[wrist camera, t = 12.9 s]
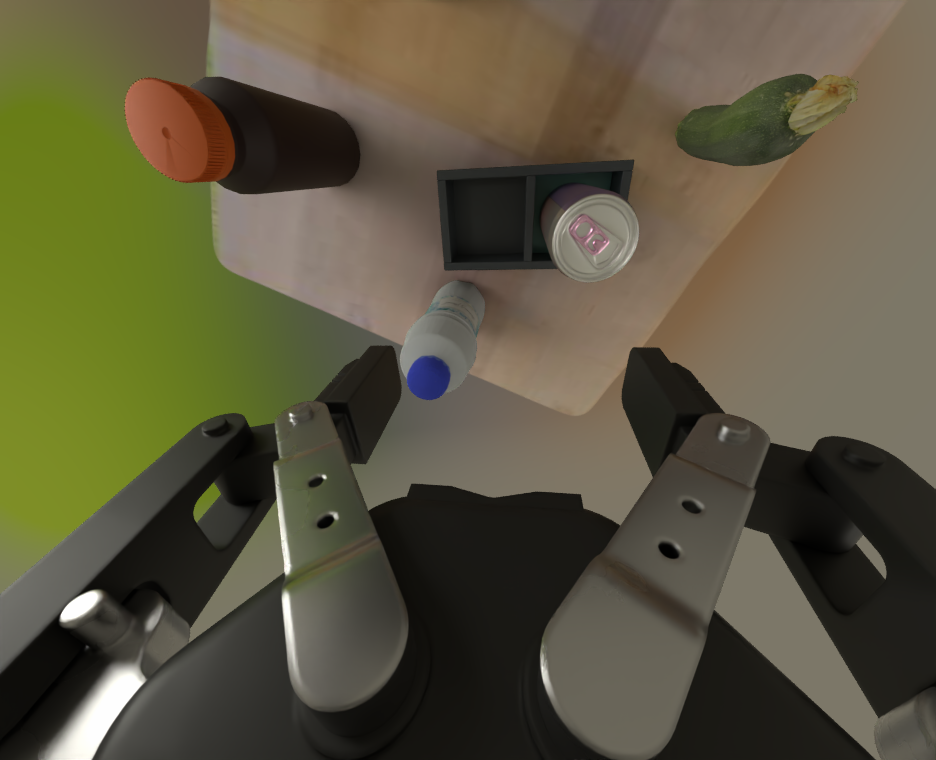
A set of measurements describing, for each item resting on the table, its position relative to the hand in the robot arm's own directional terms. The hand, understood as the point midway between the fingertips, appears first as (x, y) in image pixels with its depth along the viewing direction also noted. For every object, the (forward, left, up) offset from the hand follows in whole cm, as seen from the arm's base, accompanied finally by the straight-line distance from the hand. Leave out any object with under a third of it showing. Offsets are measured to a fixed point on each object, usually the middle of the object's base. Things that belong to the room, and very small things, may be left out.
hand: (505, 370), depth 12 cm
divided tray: (-2, +1, -31) cm, 31 cm away
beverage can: (-2, +5, -30) cm, 31 cm away
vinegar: (-9, -20, -31) cm, 38 cm away
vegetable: (-8, +15, -31) cm, 36 cm away
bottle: (+8, -7, -31) cm, 33 cm away
